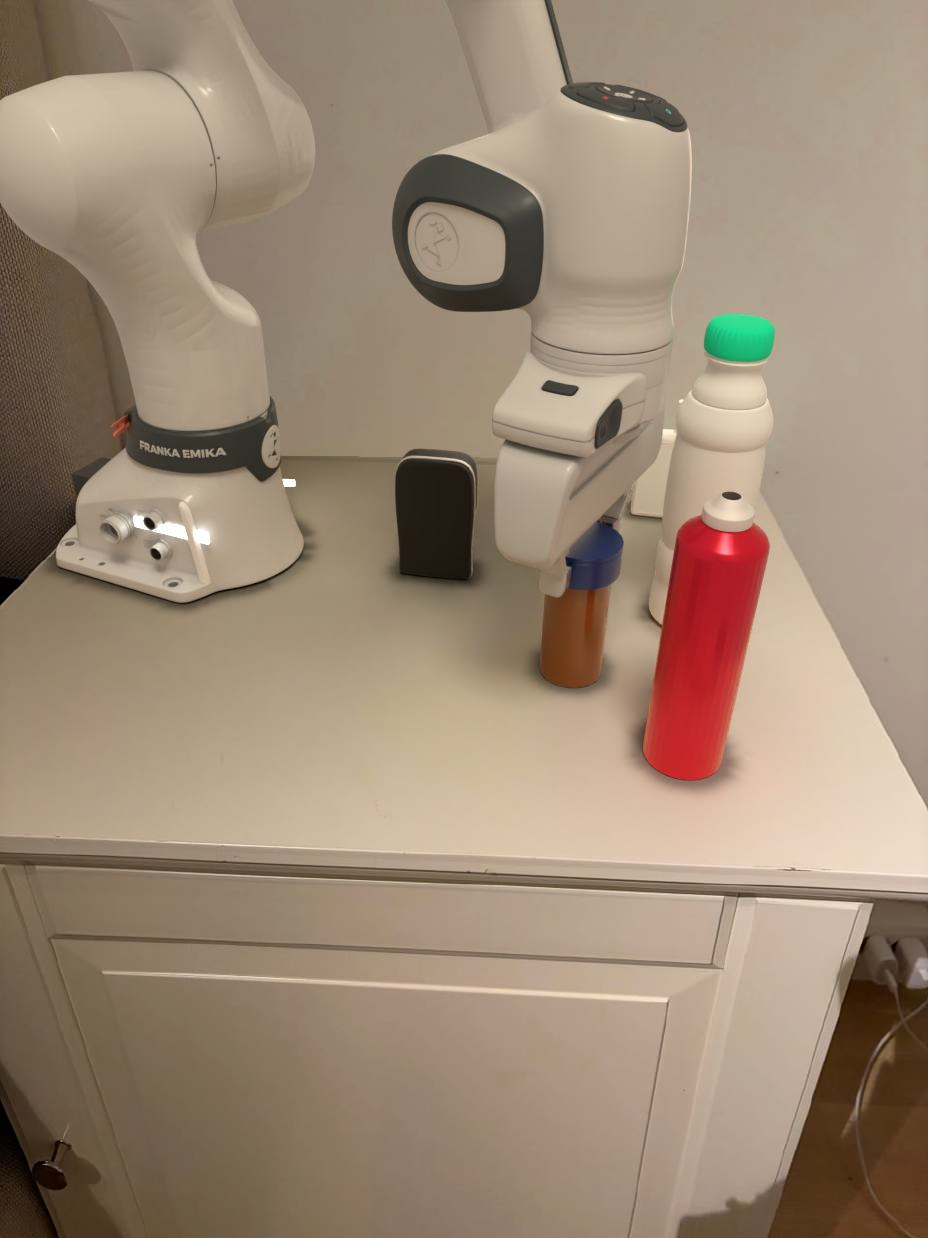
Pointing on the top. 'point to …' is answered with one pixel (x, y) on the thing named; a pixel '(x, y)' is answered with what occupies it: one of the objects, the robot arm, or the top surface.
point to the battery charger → (436, 513)
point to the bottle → (704, 637)
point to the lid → (595, 558)
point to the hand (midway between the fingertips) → (580, 563)
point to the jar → (574, 636)
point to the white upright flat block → (654, 480)
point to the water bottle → (717, 434)
